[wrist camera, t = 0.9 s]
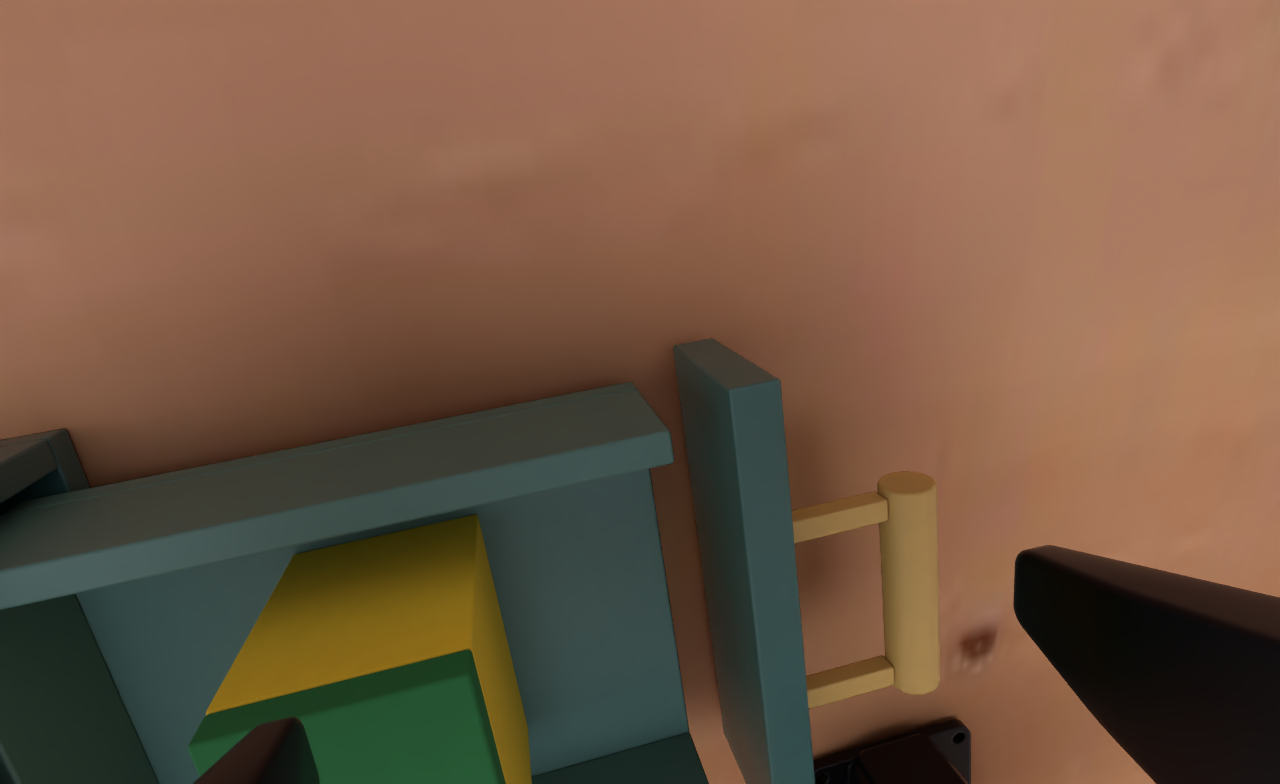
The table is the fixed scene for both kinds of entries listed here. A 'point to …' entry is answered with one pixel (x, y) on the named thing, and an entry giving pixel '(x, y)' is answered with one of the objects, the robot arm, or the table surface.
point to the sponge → (383, 664)
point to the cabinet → (38, 468)
